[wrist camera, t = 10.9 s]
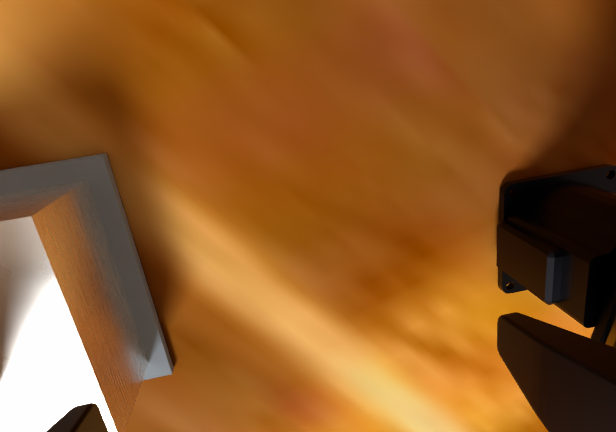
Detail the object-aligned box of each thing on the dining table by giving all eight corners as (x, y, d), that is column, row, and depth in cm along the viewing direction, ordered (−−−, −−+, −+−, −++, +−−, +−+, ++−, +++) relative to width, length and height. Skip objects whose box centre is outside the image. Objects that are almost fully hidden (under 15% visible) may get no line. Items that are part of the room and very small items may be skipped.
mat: (106, 152, 18) (102, 154, 18) (173, 367, 22) (172, 374, 22) (-183, 199, 17) (-195, 203, 17) (-58, 415, 21) (-64, 423, 21)
